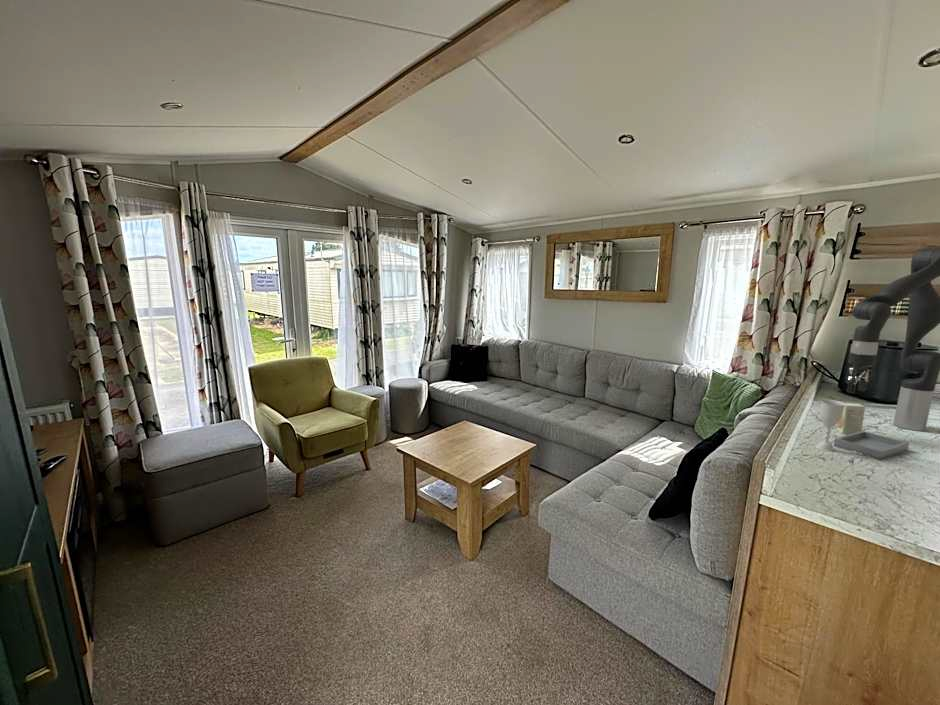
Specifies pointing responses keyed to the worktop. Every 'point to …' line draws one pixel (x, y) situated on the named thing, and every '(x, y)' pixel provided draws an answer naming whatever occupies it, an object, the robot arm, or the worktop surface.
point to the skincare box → (851, 418)
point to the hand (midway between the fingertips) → (855, 391)
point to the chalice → (830, 420)
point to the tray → (871, 444)
